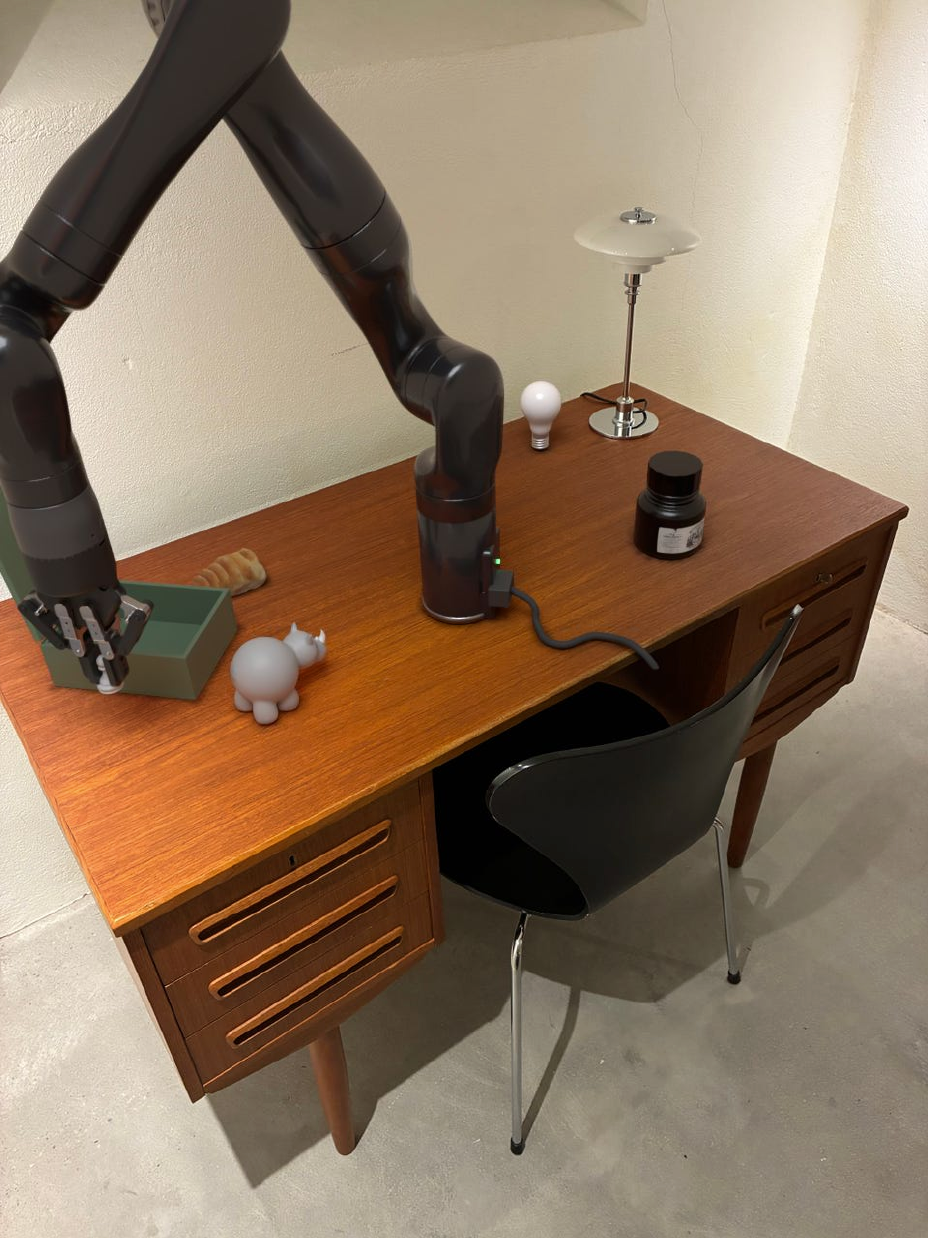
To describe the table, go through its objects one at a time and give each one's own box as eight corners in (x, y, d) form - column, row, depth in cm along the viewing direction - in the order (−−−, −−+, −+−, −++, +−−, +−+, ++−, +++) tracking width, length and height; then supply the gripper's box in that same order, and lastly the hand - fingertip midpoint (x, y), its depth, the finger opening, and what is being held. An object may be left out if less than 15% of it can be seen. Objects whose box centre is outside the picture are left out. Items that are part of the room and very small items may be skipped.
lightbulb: (517, 457, 154) (517, 390, 147) (522, 438, 159) (522, 373, 152) (558, 459, 153) (560, 392, 146) (562, 440, 158) (564, 374, 151)
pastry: (206, 611, 124) (200, 586, 121) (182, 588, 128) (176, 564, 126) (272, 583, 128) (267, 558, 126) (246, 562, 133) (241, 537, 130)
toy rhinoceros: (350, 683, 112) (342, 623, 107) (263, 737, 105) (250, 675, 100) (311, 655, 116) (302, 596, 111) (225, 705, 110) (210, 645, 104)
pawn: (96, 682, 100) (85, 651, 98) (122, 675, 101) (112, 644, 99) (99, 698, 99) (89, 667, 96) (126, 690, 99) (116, 659, 97)
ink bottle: (669, 570, 128) (678, 488, 120) (617, 543, 133) (623, 463, 126) (716, 541, 133) (727, 461, 125) (664, 517, 138) (672, 439, 131)
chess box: (238, 628, 121) (229, 588, 117) (196, 700, 110) (185, 658, 107) (107, 617, 124) (95, 577, 120) (54, 686, 113) (39, 645, 110)
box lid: (37, 439, 109) (31, 439, 109) (-31, 499, 99) (-37, 499, 99) (97, 574, 120) (91, 574, 120) (41, 641, 109) (34, 642, 109)
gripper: (-31, 550, 87) (27, 698, 98) (113, 561, 85) (157, 711, 95) (14, 506, 93) (65, 651, 103) (150, 516, 91) (188, 662, 101)
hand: (109, 679), depth 99 cm, fingers closed on pawn, 1 cm apart
